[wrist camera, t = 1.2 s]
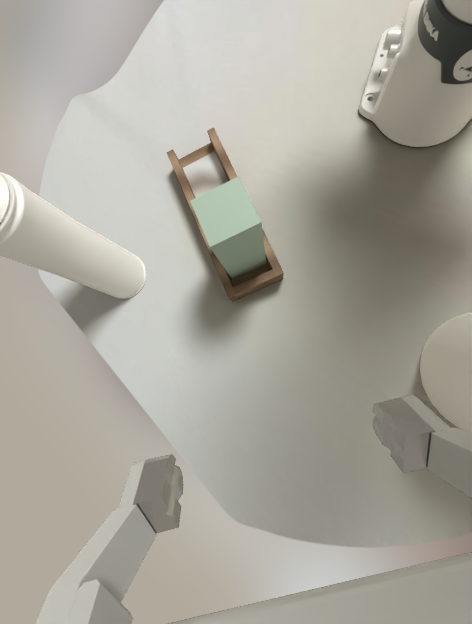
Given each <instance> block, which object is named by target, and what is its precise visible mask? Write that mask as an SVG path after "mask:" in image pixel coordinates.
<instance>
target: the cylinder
mask: <svg viewBox="0 0 472 624" xmlns="http://www.w3.org/2000/svg"><path fill="white" fill-rule="evenodd" d="M420 375H421V380H422V385H423V388H424V390H425V392H426V394H427V396H428V398H429V400H430V402H431V403H432V405H433V406H434V407H435V408H436V409H437V410H438V412H439V413H440V414H441V415H442V416H443V417H444V418H445V419H447V420H448V421H449V422H451V423H452V424H453V425H455V426H456V427H457V428H459V429H461V430H463V431H466V432H468V433H470V434H472V312H469V313H465V314H462V315H459V316H456V317H454V318H451V319H449V320H447V321H446V322H445V323H443V324H442V325H440V326H439V327H438V328H436V329H435V331H434V332H433V333H432V334H431V336H430V337H429V338H428V339H427V341H426V343H425V346H424V348H423V351H422V353H421V360H420Z"/></svg>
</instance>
